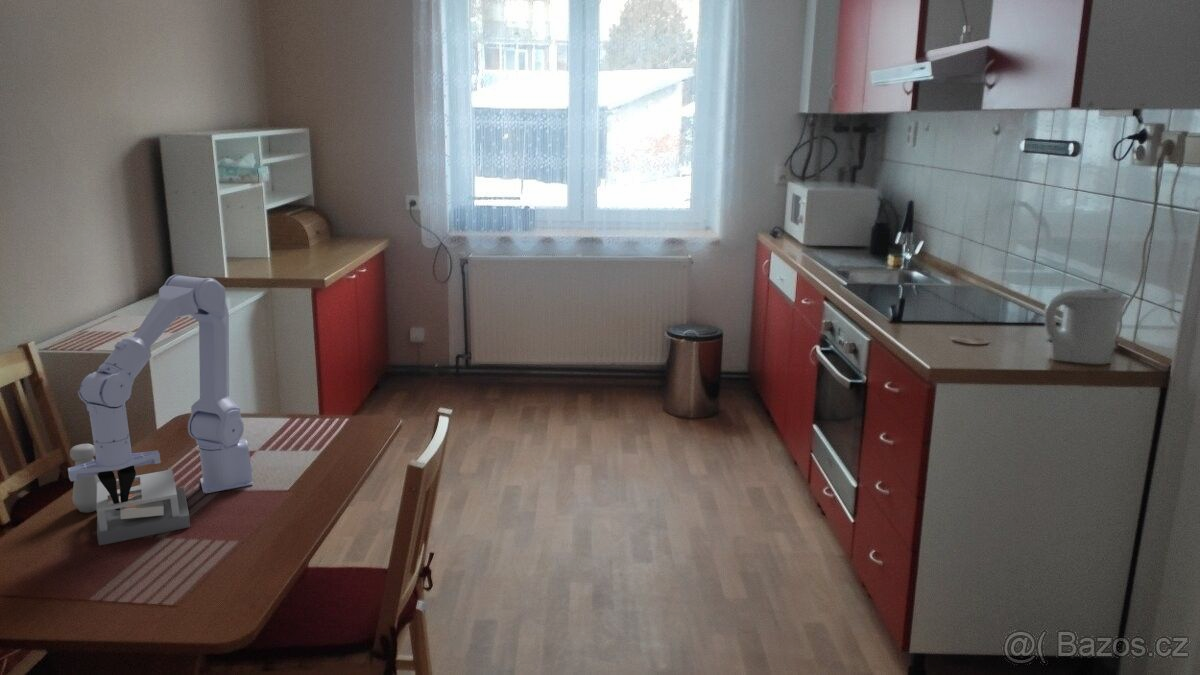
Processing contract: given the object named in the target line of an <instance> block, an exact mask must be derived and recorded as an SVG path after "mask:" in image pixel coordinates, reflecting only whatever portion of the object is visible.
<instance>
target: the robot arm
mask: <svg viewBox="0 0 1200 675" xmlns="http://www.w3.org/2000/svg"><path fill="white" fill-rule="evenodd" d="M163 284H164V285H162V286H161V287H160V288H159V289H158V299H157V300H156V302H155V304H154V305H153V307H151V309H150V311H149V312H148V314H147V315H146V317H145V318H144V319H143V321H142V323H141V324H140V325H139V327H138V328H137V330H136V331H135V333H134V335H133V336H131V337H127V338H122V339H121V340H119V341H116V342H115V345H114V346H113V347H114V349H113V350H112V351H111V353H110V354H109V355H108V357H107V358H106V359H105V360H104V361H103V363H101V364H100V365H99V367H98V369H97V370H96V371H93V372H92V373H89V374H88V375H86V376H85V377H84V378H83V380H82V381H81V384H80V387H79V388H80V389H78V391H77V395H78V398H79V399H80V400H81V401H82V402H83V403H84V404H85V405H86V411H87V412H88V413H89V421H90V426H91V433H92V441H93V446H94V449H95V456H94V457H95V459H94V461H91V462H88V463H85V464H82V465H78V466H75V465H74V466H71V467H67V472H68V479H69V480H70V482H74V481H76V480H78V479H79V478H84V477H89V476H93V475H97V476H98V478H99V480H100V481H101V483H102V484H103V485H104V487H105V488H106V489H107V491H108V492H109V494H110V496H111V498H110V499H111V501H113V504H117V503H119V497H118V494H117V490H118V488H117V487H118V486H117V485H119V489H120V499H121V503H122V502H127V501H128V497H129V492H130V489H131V487H133V486H132V485H133V483H134V482H135V481H134V479H135V476H137V471H136V469H135V468H137V467H141V466H146V465H151V464H153V465H158V464H161V462H162V461H161V457H160V455H161V454H160V452H159V451H158V450H152V451H144V452H135V453H134V452H133V451H132V446H131V436H130V431H129V423H128V422H129V421H128V416H127V415H128V414H127V408H126V402H127V401H128V400H129V399H130V398H131V395H132V390H133V388H132V387H133V385H134V384H135V382H134V381H135V379H136V377H137V376H138V375H139V374H140V372H141V371H142V370H143V368H144V367H145V366H146V364H147V363H148V362H149V361H150V359H151V358H152V351H151V347H152V346H153V345H154V343H156V341H157V340H158V339H159V338H161V336H162V335H163V333H164V332H165V331H166V330H167V329H168V328H169V327H170V326H171V324H172V323H173V322H174V321H175V320H176V319H177V318H180V317H185V316H189V315H190V316H191V317H192V318H194V319H195V320H196V321H197V322H198V332H199V334H198V342H199V343H198V345H199V347H198V348H199V349H198V350H199V355H198V356H199V399H198V400H197V401H195V402H194V403H193V404H192V405H191V409H190V410H191V411H190V412H191V413H190V417H189V419H188V421H187V432H188V434H189V436H190V437H191V438H192V439H194V440H195V444H196V445H198V450H199V457H200V466H201V467H200V468H201V473H202V474H201V475H202V477H201V478H199V482H200V484H201V488H202V493H203V494H205V495H206V494H211V493H217V492H220V491H225V490H226V491H228V490H231V489H237V488H242V487H247V486H253V484H254V482H253V474H252V473H253V468H252V464H251V456H250V449H249V444H248V441H247V439H246V438H242V436H243V435H244V434H243V433H244V430H245V429H244V428H245V427H244V421H243V419H242V416H241V408H240V406H238V404H237V403H236V402H234V400H233V399H232V398H231V397H230V330H229V329H230V320H229V319H230V318H229V317H230V316H229V308H228V305H227V303H226V287H225V286H224V285H222V284H221V283H220V282H219V281H218V280H217V279H216V278H213V277H197V276H188V275H181V274H173V275H171V276H169V277H168V278H167V279H166V281H165V282H164V283H163ZM132 452H133V453H132ZM114 472H117V473H116V474H117V478H116V476H115V473H114ZM116 479H119V483H118V484H116ZM116 510H120V508H117V509H116Z"/></svg>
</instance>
